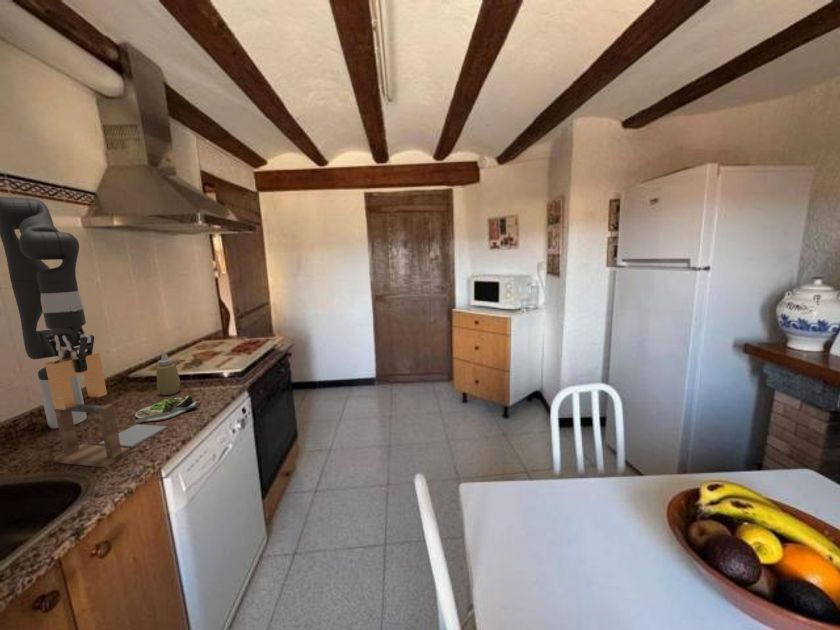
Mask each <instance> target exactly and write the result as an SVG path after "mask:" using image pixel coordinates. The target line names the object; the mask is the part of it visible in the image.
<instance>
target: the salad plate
mask: <svg viewBox="0 0 840 630" xmlns="http://www.w3.org/2000/svg"><path fill="white" fill-rule="evenodd" d="M198 406H199V404H198V402H197V401H196V400H193V399H192V396H191V395H190V394H188V395H186V396H185V397H174V398H173V397H172V398H171V397H170V398H167V399H163V400H160V401H159V402H157V403H155V404H152V405H150V406H147V407H143V408H141V409H140V410H138V411H136V412H135V414H134V417H136V418H137V419H135V420H134V422H135V423H140V422H156V421H163V420H167V419H168V420H169V419H172V418H174V417H176V416H179V415H182V414H184V413H187V412H189V411H191V410H193V409H194V408H196V407H198Z"/></svg>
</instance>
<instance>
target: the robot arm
mask: <svg viewBox="0 0 840 630" xmlns="http://www.w3.org/2000/svg"><path fill="white" fill-rule="evenodd" d="M15 230H19V233H20V236H19V237H18V235H17V233H16V231H15ZM0 239H1V243H2V246H3V250H4V253H5V257H6V263H7V267H8V274H9V280H10V283H11V288H12V291H13V295H14V299H15V303H16V305H17V310H18V314H19V317H20V323H21V331H22V339H23V344H24V350H25V352H26V354H27V356H28V358H30V359H31V360H40V359H46V358H54V357H58V358H59V359H58V360H61V359H65V358H69V357H72V356H73V357H74V359H75V360H74V362H75V367H76V372H78V373H81V372H84V371H87V363H86V357H87V356H89V355H92V352H93V351H94V349H93V348H94V344H95V343H94V342H95V335H93V334H90V335H88V334H85V330H84V329H83V327H84V326H85V325H86V324H87V321H86V315H85V310H84V306H83V300H82V297H81V295H80V291H79V288H78V282H77V275H76V272H77V271H76V270H77V266H76V265H77V261H78V257H79V252H80V243H79V240H78V239H77V238H76V237H75V236H74V234H72V233H70V232H66V231H59V230H58V229H57V227H55V224H54V221H53V219H52V215H51V213H50V210H49V208H48V206H47V205H46V204H45V203H44V201H42V200H40V199H36V198H31V197H30V198H29V197H14V196H0ZM48 260H49V261H52V260H53V261H54V260H57V261H58V260H62V261H61V264H60V265H58V266H57V267H53V268H52V267H51V268H50V267H49V266H48V264H46V263H45V262H44V261H48ZM42 315H43V319H44V323H45V327H46V329H43V330H37V328H38V327H37V326H38V323H39V320H40V318H41V317H42ZM37 377H38V381H39V384H40V389H41V394H42V398H43V399H42V404H43V409H44V414H45V417H46V422H47V426H48V427H49V428H50V429H59V427H58V423H57V418H56V413H55V409H54V403H53V399H52V394H51V389H50V385H49V380H48V376H47V371H46V367H43V368H41V369H39V370H38V372H37ZM70 380H71V385H72V390H73V395H74V399H75V404H82V405H85V403H84V397H83V392H82V387H81V383H80V378H79V375H76V376H73V377H70ZM71 412H72V417H73V422H74V426H75V425H77V424H80V423H82V422H84V421H85V420H86V419H87V418H88V417H87V412H74V411H71Z"/></svg>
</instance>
